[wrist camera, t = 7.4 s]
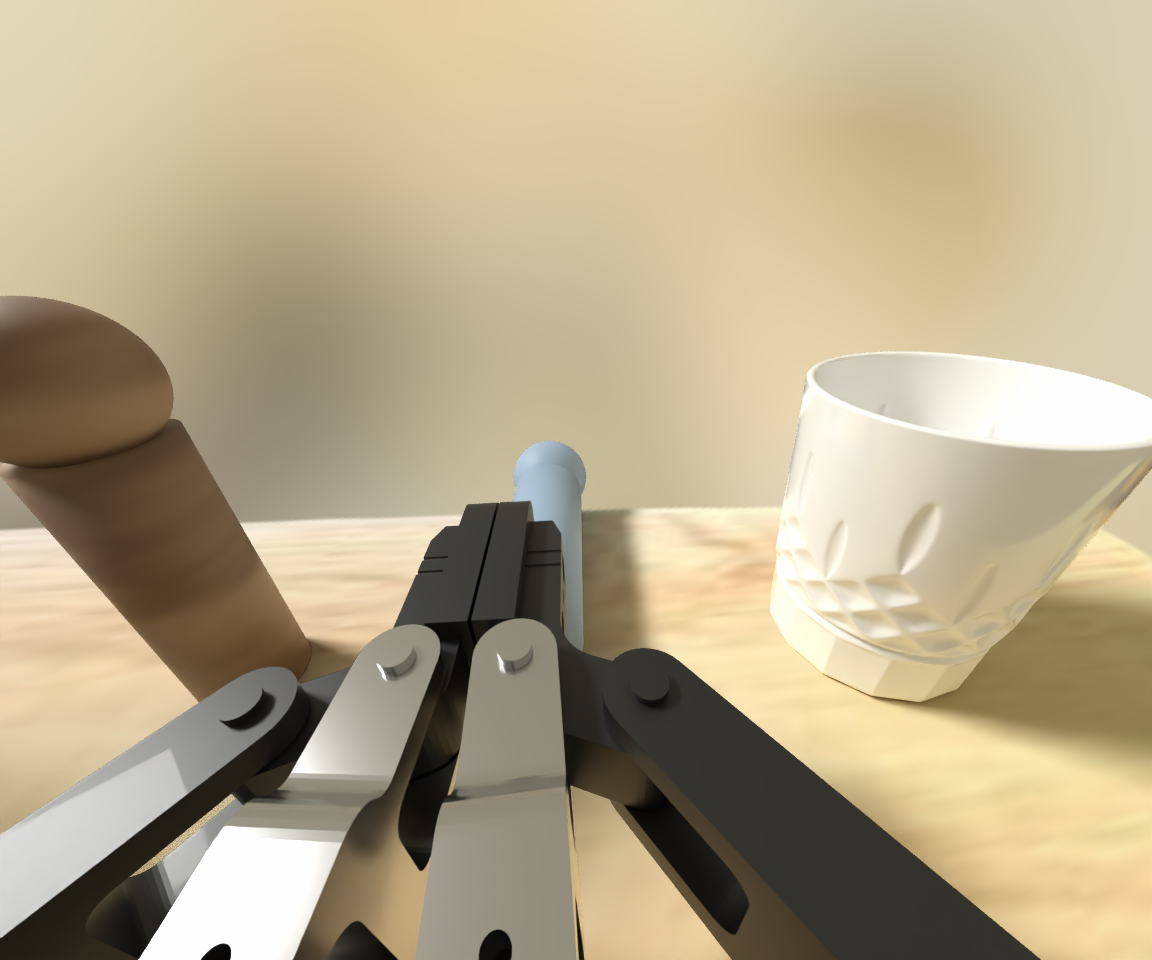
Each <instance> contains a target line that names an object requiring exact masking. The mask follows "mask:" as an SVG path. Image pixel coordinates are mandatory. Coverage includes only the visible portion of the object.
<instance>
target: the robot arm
mask: <svg viewBox="0 0 1152 960" xmlns="http://www.w3.org/2000/svg"><path fill="white" fill-rule="evenodd" d="M565 598H566V581H565V569H564V558H563V547H562V536H561V532H560V531H559V529H558V528H557V526H556V525H555V523H554V522H553V520H549V521H534V516H533V508H532V503H531V501H516V502H500V504H499V503H483V504H468V505H467V506H466V508H465V511H464V514H463V516H462V519H461V522H460V525H459V526H446V527H445V528H444V529H443V530H442V531H441V532H440V533H439V534H438V535H437V536H436V537H435V538H433V539H432V540H431V542H430V544H429V547H428V549H427V551H426V554H425V556H424V561H422V563H421V565H420V567H419V570H418V575H416V577H415V579H414V581H413V584H412V586H411V588H410V591H409V593H408V595H407V597H406V600H405V602H404V604H403V607H402V609H401V611H400V614H399V616H398V618H397V621H396V623H395V625H394V628H392V629H390V630H388V631H385V632H384V633H382V634H380V635H379V636H377V637H376V638H374V639H373V640H372V641H371V642H369V643H368V644H367V645H366V646H365V647H364V648H363V650H362V651H361V652H360V654H359V655H358V657H357V658H356V660H355V662H354V663H353V665H352V666H351V667H349V668H346V669H344V670H341V671H338V672H335V673H332V674H329V675H326V676H323V677H320V678H317V679H314V680H310V681H307V682H304V683H301V684H300V683H299V681H298V680H297V678H296V677H295V675H294V674H293V673H292V672H291V671H290V670H288V669H286V668H282V667H266V668H261V669H258V670H254V671H252V672H249V673H247V674H245V675H243V676H241V677H238V678H237V679H235V680H233V681H232V682H230V683H228V684H227V685H225V686H224V687H222V688H221V689H219V690H218V691H216V692H215V693H213V694H212V695H210V696H209V697H207V698H206V699H204V700H203V701H201V702H200V703H198V704H197V705H195V706H194V707H192V708H191V709H189V710H187V711H186V712H184V713H183V714H181V715H180V716H178V717H177V718H175V719H174V720H172V721H171V722H169V723H168V724H166V725H165V726H163V727H162V728H160V729H159V730H157V731H156V732H154V733H153V734H151V735H150V736H148V737H147V738H145V739H144V740H142V741H141V742H139V743H138V744H136V745H135V746H133V747H132V748H130V749H128V750H127V751H125V752H124V753H122V754H121V755H119V756H118V757H116V758H115V759H113V760H112V761H110V762H109V763H107V764H106V765H104V766H103V767H101V768H100V769H98V770H97V771H95V772H94V773H92V774H91V775H89V776H88V777H86V778H85V779H83V780H82V781H80V782H79V783H77V784H76V785H74V786H72V787H71V788H69V789H68V790H66V791H65V792H63V793H62V794H60V795H59V796H57V797H56V798H54V799H53V800H51V801H50V802H48V803H47V804H45V805H44V806H42V807H41V808H39V809H38V810H36V811H35V812H33V813H32V814H30V815H29V816H27V817H26V818H24V819H23V820H21V821H20V822H18V823H17V824H15V825H13V826H12V827H10V828H9V829H7V830H6V831H4V832H3V833H1V834H0V960H586V957H585V945H584V932H583V920H582V908H581V896H580V885H579V875H578V864H577V852H576V839H575V826H574V814H573V801H572V788H571V785H572V786H574V787H577V788H580V789H583V790H585V791H588V792H591V793H594V794H597V795H599V796H602V797H605V798H608V799H610V801H611V803H612V805H613V806H614V808H615V809H616V810H617V812H618V813H619V814H620V816H621V817H622V818H623V820H624V821H625V822H626V823H627V825H628V826H629V827H630V829H631V830H632V831H633V832H634V834H635V835H636V836H637V838H638V839H639V840H640V842H641V843H642V844H643V845H644V847H645V848H646V849H647V851H648V852H649V853H650V854H651V856H652V857H653V858H654V860H655V861H656V862H657V864H658V865H659V866H660V867H661V869H662V870H663V871H664V873H665V874H666V875H667V876H668V878H669V879H670V880H671V882H672V883H673V884H674V885H675V887H676V888H677V889H678V891H679V892H680V893H681V895H682V896H683V897H684V898H685V900H686V901H687V902H688V904H689V905H690V906H691V907H692V909H693V910H694V911H695V913H696V914H697V915H698V917H699V918H700V919H701V920H702V922H703V923H704V924H705V926H706V927H707V928H708V929H709V931H710V932H711V933H712V935H713V936H714V937H715V939H716V940H717V941H718V942H719V944H720V945H721V946H722V948H723V949H724V950H725V951H726V953H727V954H728V955H729V957H730V958H731V959H732V960H1041V959H1039V958H1038V957H1037V956H1036V955H1035V954H1033V953H1032V952H1031V951H1030V950H1029V949H1027V948H1026V947H1025V946H1024V945H1023V944H1021V943H1020V942H1019V941H1018V940H1016V939H1015V938H1014V937H1013V936H1012V935H1010V934H1009V933H1008V932H1007V931H1006V930H1004V929H1003V928H1002V927H1001V926H999V925H998V924H997V923H996V922H995V921H993V920H992V919H991V918H990V917H989V916H987V915H986V914H985V913H984V912H983V911H981V910H980V909H979V908H978V907H976V906H975V905H974V904H973V903H972V902H970V901H969V900H968V899H967V898H966V897H964V896H963V895H962V894H961V893H960V892H958V891H957V890H956V889H955V888H953V887H952V886H951V885H950V884H949V883H947V882H946V881H945V880H944V879H943V878H941V877H940V876H939V875H938V874H936V873H935V872H934V871H933V870H932V869H930V868H929V867H928V866H927V865H926V864H924V863H923V862H922V861H921V860H920V859H918V858H917V857H916V856H915V855H913V854H912V853H911V852H910V851H909V850H907V849H906V848H905V847H904V846H903V845H901V844H900V843H899V842H898V841H897V840H895V839H894V838H893V837H892V836H890V835H889V834H888V833H887V832H886V831H884V830H883V829H882V828H881V827H880V826H878V825H877V824H876V823H875V822H873V821H872V820H871V819H870V818H869V817H867V816H866V815H865V814H864V813H863V812H861V811H860V810H859V809H858V808H857V807H855V806H854V805H853V804H852V803H850V802H849V801H848V800H847V799H846V798H844V797H843V796H842V795H841V794H840V793H838V792H837V791H836V790H835V789H834V788H832V787H831V786H830V785H829V784H827V783H826V782H825V781H824V780H823V779H821V778H820V777H819V776H818V775H817V774H815V773H814V772H813V771H812V770H810V769H809V768H808V767H807V766H806V765H804V764H803V763H802V762H801V761H800V760H798V759H797V758H796V757H795V756H794V755H792V754H791V753H790V752H789V751H787V750H786V749H785V748H784V747H783V746H781V745H780V744H779V743H778V742H777V741H775V740H774V739H773V738H772V737H771V736H769V735H768V734H767V733H766V732H764V731H763V730H762V729H761V728H760V727H758V726H757V725H756V724H755V723H754V722H752V721H751V720H750V719H749V718H747V717H746V716H745V715H744V714H743V713H741V712H740V711H739V710H738V709H737V708H735V707H734V706H733V705H732V704H731V703H729V702H728V701H727V700H726V699H724V698H723V697H722V696H721V695H720V694H718V693H717V692H716V691H715V690H714V689H712V688H711V687H710V686H709V685H708V684H706V683H705V682H704V681H703V680H701V679H700V678H699V677H698V676H697V675H695V674H694V673H693V672H692V671H691V670H689V669H688V668H687V667H686V666H684V665H683V664H682V663H681V662H680V661H678V660H677V659H676V658H674V657H673V656H671V655H669V654H667V653H665V652H662V651H659V650H655V649H648V648H640V649H634V650H630V651H627V652H625V653H623V654H621V655H619V656H618V657H616V658H615V659H614V660H613V661H610V660H607V659H603V658H599V657H595V656H592V655H589V654H586V653H584V652H582V651H580V650H579V649H577V648H576V647H574V646H573V645H572V644H571V643H570V642H569V641H568V639H567V638H566V614H565V613H566V600H565ZM230 794H232V795H233V796H234V797H235V798H236V799H235V800H234V801H233V802H231V803H230V804H229V805H228V806H227V807H225V808H224V809H223V810H222V811H221V812H219V813H218V814H217V815H216V816H215V817H213V818H212V819H211V820H210V821H209V822H207V823H206V824H205V825H204V826H203V827H201V828H200V829H199V830H198V831H197V832H195V833H194V834H193V835H192V836H191V837H189V838H188V839H187V840H186V841H184V842H183V843H182V844H181V845H180V846H178V847H177V848H176V849H175V850H174V851H172V852H171V853H170V854H169V855H168V856H166V857H165V858H164V859H163V860H162V861H160V862H159V863H158V864H156V865H155V866H153V867H152V868H150V869H148V870H147V871H145V872H143V873H141V874H138V875H135V876H132V877H130V876H131V875H132V874H133V873H135V872H136V871H137V870H138V869H139V868H141V867H142V866H143V865H144V864H146V863H147V862H148V861H149V860H150V859H152V858H153V857H154V856H155V855H157V854H158V853H159V852H160V851H161V850H163V849H164V848H165V847H166V846H168V845H169V844H170V843H171V842H173V841H174V840H175V839H176V838H177V837H179V836H180V835H181V834H182V833H184V832H185V831H186V830H187V829H188V828H190V827H191V826H192V825H193V824H195V823H196V822H197V821H198V820H199V819H201V818H202V817H203V816H204V815H206V814H207V813H208V812H209V811H210V810H212V809H213V808H214V807H215V806H217V805H218V804H219V803H220V802H221V801H223V800H224V799H225V798H226V797H228V796H229V795H230Z"/></svg>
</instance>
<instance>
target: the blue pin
mask: <svg viewBox="0 0 1152 960" xmlns="http://www.w3.org/2000/svg"><path fill="white" fill-rule="evenodd" d="M514 482H515V487H516V490H515V494H514V498H513V502H516V501H531V503H532V508H533V516H534V521H549V520H553V522H554V523H555V525H556V526H557V528H558V529H559V531H560V532H561V536H562V547H563V558H564V569H565V581H566V598H565V600H566V613H565V614H566V638H567V639H568V641H569V642H570V643H571V644H572V645H573V646H574V647H576V648H577V649H579V650H580V651H582V652H583V650H584V637H583V578H582V519H581V494H582V492H583V490H584V487H585V482H586V472H585V467H584V465H583V462H582V460H581V458H580V457H579V455H578V454H577V453H576V452H575V451H574V450H573V449H571V448H570V447H569V446H567V445H565V444H563V443H560V442H555V441H545V442H540V443H537V444H535V445H533V446H531V447H530V448H528V449H527V450H526V451H525V452H524V453H523V454H522V455H521V456H520V458H519V460H518V462H517V464H516V467H515V471H514Z"/></svg>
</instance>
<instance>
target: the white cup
mask: <svg viewBox="0 0 1152 960" xmlns="http://www.w3.org/2000/svg"><path fill="white" fill-rule="evenodd" d="M1151 469H1152V398H1151V397H1148V396H1146V395H1144V394H1142V393H1139V392H1137V391H1134V390H1132V389H1129V388H1126V387H1123V386H1120V385H1117V384H1114V383H1111V382H1107V381H1104V380H1101V379H1097V378H1094V377H1089V376H1086V375H1082V374H1078V373H1074V372H1070V371H1065V370H1060V369H1056V368H1051V367H1046V366H1041V365H1035V364H1030V363H1024V362H1018V361H1012V360H1005V359H998V358H989V357H982V356H973V355H962V354H950V353H935V352H909V351H906V352H905V351H895V352H894V351H893V352H870V353H858V354H850V355H844V356H839V357H835V358H831V359H828V360H825V361H822V362H820V363H818V364H816V365H815V366H813V367H812V368H811V369H810V370H809V371H808V373H807V376H806V382H805V387H804V393H803V399H802V404H801V410H800V416H799V421H798V426H797V431H796V437H795V442H794V447H793V452H792V458H791V463H790V469H789V473H788V479H787V484H786V489H785V494H784V500H783V506H782V512H781V518H780V530H779V534H778V539H777V545H776V554H777V561H776V566H775V571H774V576H773V581H772V586H771V604H770V613H771V615H772V617H773V618H774V620H775V622H776V624H777V625H778V627H779V629H780V631H781V633H782V635H783V636H784V638H785V640H786V642H787V643H788V644H789V645H790V646H791V647H792V648H794V649H795V650H796V651H797V652H798V653H799V654H801V655H802V656H803V657H804V658H805V659H806V660H808V661H809V662H810V663H811V664H812V665H813V666H815V667H816V668H817V669H818V670H819V671H820V672H822V673H823V674H825V675H827V676H829V677H832V678H834V679H836V680H838V681H840V682H842V683H844V684H847V685H849V686H851V687H853V688H855V689H857V690H860V691H862V692H864V693H866V694H868V695H871V696H877V697H885V698H892V699H900V700H907V701H915V702H923V701H925V700H928V699H931V698H934V697H937V696H940V695H943V694H945V693H948V692H951V691H954V690H956V689H958V688H959V687H960V685H961V684H962V683H963V682H964V681H965V679H966V678H967V677H968V676H969V674H970V673H971V672H972V671H973V669H974V668H975V667H976V666H977V664H978V663H979V662H980V661H981V659H982V658H983V657H984V656H985V654H986V653H987V652H988V651H989V649H990V648H991V647H992V646H993V645H994V644H996V643H997V642H998V641H1000V640H1001V639H1002V638H1003V637H1004V636H1006V635H1007V634H1008V633H1009V632H1010V631H1012V630H1013V629H1014V628H1015V627H1016V625H1017V624H1018V623H1019V622H1020V621H1021V620H1022V619H1023V617H1024V616H1025V615H1026V614H1027V612H1028V611H1029V610H1030V609H1031V607H1032V606H1033V605H1034V603H1035V602H1036V601H1037V600H1039V599H1040V598H1041V597H1043V596H1044V595H1045V594H1046V593H1047V592H1048V591H1049V589H1050V588H1051V587H1052V586H1053V585H1054V584H1055V583H1056V581H1057V580H1058V579H1059V578H1060V577H1061V575H1062V574H1063V573H1064V572H1065V571H1066V569H1067V568H1068V567H1069V566H1070V565H1071V564H1072V562H1073V561H1074V560H1075V559H1076V558H1077V556H1078V555H1079V554H1080V553H1081V552H1082V550H1083V549H1084V548H1085V547H1086V546H1087V544H1088V543H1089V542H1090V541H1091V540H1092V539H1093V537H1094V536H1095V535H1096V534H1097V533H1098V531H1099V530H1100V529H1101V528H1102V527H1103V525H1104V524H1105V523H1106V522H1107V521H1108V519H1109V518H1110V517H1111V516H1112V515H1113V514H1114V512H1115V511H1116V510H1117V509H1118V508H1119V507H1120V505H1121V504H1122V503H1123V502H1124V500H1125V499H1126V498H1127V497H1128V496H1129V495H1130V494H1131V492H1132V491H1133V490H1134V489H1135V488H1136V487H1137V485H1138V484H1139V483H1140V482H1141V481H1142V479H1143V478H1144V477H1145V476H1146V475H1147V474H1148V472H1149V471H1150V470H1151Z"/></svg>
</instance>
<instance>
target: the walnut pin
mask: <svg viewBox="0 0 1152 960" xmlns="http://www.w3.org/2000/svg"><path fill="white" fill-rule="evenodd" d="M173 398H174V397H173V388H172V384H171V381H170V378H169V375H168V373H167V370H166V368H165V367H164V365H163V363H162V362H161V360H160V359H159V357H158V356H157V355H156V354H155V353H154V351H153V350H152V349H151V348H150V347H149V346H148V345H147V344H146V343H145V342H143V340H141V339H140V338H139V337H138V336H136V335H135V334H134V333H132V332H131V331H130V330H128V329H127V328H125V327H123V326H122V325H120V324H119V323H117V322H115V321H113V320H111V319H109V318H107V317H105V316H103V315H101V314H99V313H96V312H94V311H91V310H89V309H86V308H83V307H80V306H77V305H73V304H70V303H66V302H62V301H57V300H52V299H46V298H37V297H28V296H0V462H3V464H2V465H1V466H0V476H1V477H2V479H3V480H4V481H5V482H6V483H7V484H8V485H9V487H10V488H11V489H12V490H13V491H14V492H15V493H16V495H17V496H18V497H19V498H20V499H21V500H22V501H23V503H24V504H25V505H26V506H27V507H28V508H29V509H30V510H31V512H32V513H33V514H34V515H35V516H36V517H37V518H38V519H39V521H40V522H41V523H42V524H43V525H44V526H45V528H46V529H47V530H48V531H49V532H50V533H51V534H52V536H53V537H54V538H55V539H56V540H57V541H58V542H59V543H60V545H61V546H62V547H63V548H64V549H65V550H66V551H67V553H68V554H69V555H70V556H71V557H72V558H73V559H74V561H75V562H76V563H77V564H78V565H79V566H80V567H81V568H82V570H83V571H84V572H85V573H86V574H87V575H88V576H89V578H90V579H91V580H92V581H93V582H94V583H95V584H96V586H97V587H98V588H99V589H100V590H101V591H102V592H103V594H104V595H105V596H106V597H107V598H108V599H109V600H110V601H111V603H112V604H113V605H114V606H115V607H116V608H117V609H118V611H119V612H120V613H121V614H122V615H123V616H124V617H125V619H126V620H127V621H128V622H129V623H130V624H131V625H132V626H133V628H134V629H135V630H136V631H137V632H138V633H139V634H140V636H141V637H142V638H143V639H144V640H145V641H146V642H147V644H148V645H149V646H150V647H151V648H152V649H153V650H154V652H155V653H156V654H157V655H158V656H159V657H160V658H161V659H162V661H163V662H164V663H165V664H166V665H167V666H168V667H169V669H170V670H171V671H172V672H173V673H174V674H175V675H176V677H177V678H178V679H179V680H180V681H181V682H182V683H183V684H184V686H185V687H186V688H187V689H188V690H189V691H190V692H191V694H192V695H193V696H194V697H195V698H196V699H197V700H198V702H199V703H200V702H201V701H203V700H204V699H206V698H207V697H209V696H210V695H212V694H213V693H215V692H216V691H218V690H219V689H221V688H222V687H224V686H225V685H227V684H228V683H230V682H232V681H233V680H235V679H237V678H238V677H241V676H243V675H245V674H247V673H249V672H252V671H254V670H258V669H261V668H266V667H282V668H286V669H288V670H290V671H291V672H292V673H293V674H294V675H295V677H296V678H297V680H298V679H299V678H300V677H301V676H302V674H303V673H304V671H305V669H306V668H307V666H308V663H309V661H310V657H311V648H310V645H309V643H308V641H307V639H306V637H305V636H304V634H303V632H302V631H301V629H300V627H299V625H298V624H297V622H296V620H295V618H294V617H293V615H292V613H291V611H290V610H289V608H288V606H287V605H286V603H285V601H284V599H283V598H282V596H281V594H280V592H279V591H278V589H277V587H276V585H275V584H274V582H273V580H272V579H271V577H270V575H269V573H268V572H267V570H266V568H265V566H264V565H263V563H262V561H261V559H260V558H259V556H258V554H257V553H256V551H255V549H254V547H253V546H252V544H251V542H250V540H249V539H248V537H247V535H246V533H245V532H244V530H243V528H242V526H241V525H240V523H239V521H238V520H237V518H236V516H235V514H234V513H233V511H232V509H231V507H230V506H229V504H228V502H227V500H226V499H225V497H224V495H223V494H222V492H221V490H220V488H219V487H218V485H217V483H216V481H215V480H214V478H213V476H212V474H211V473H210V471H209V469H208V468H207V466H206V464H205V462H204V461H203V459H202V457H201V455H200V454H199V452H198V450H197V448H196V447H195V445H194V443H193V442H192V440H191V438H190V436H189V435H188V433H187V431H186V429H185V428H184V426H183V424H182V423H181V422H180V421H179V420H176V419H170V416H171V412H172V408H173Z"/></svg>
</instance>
